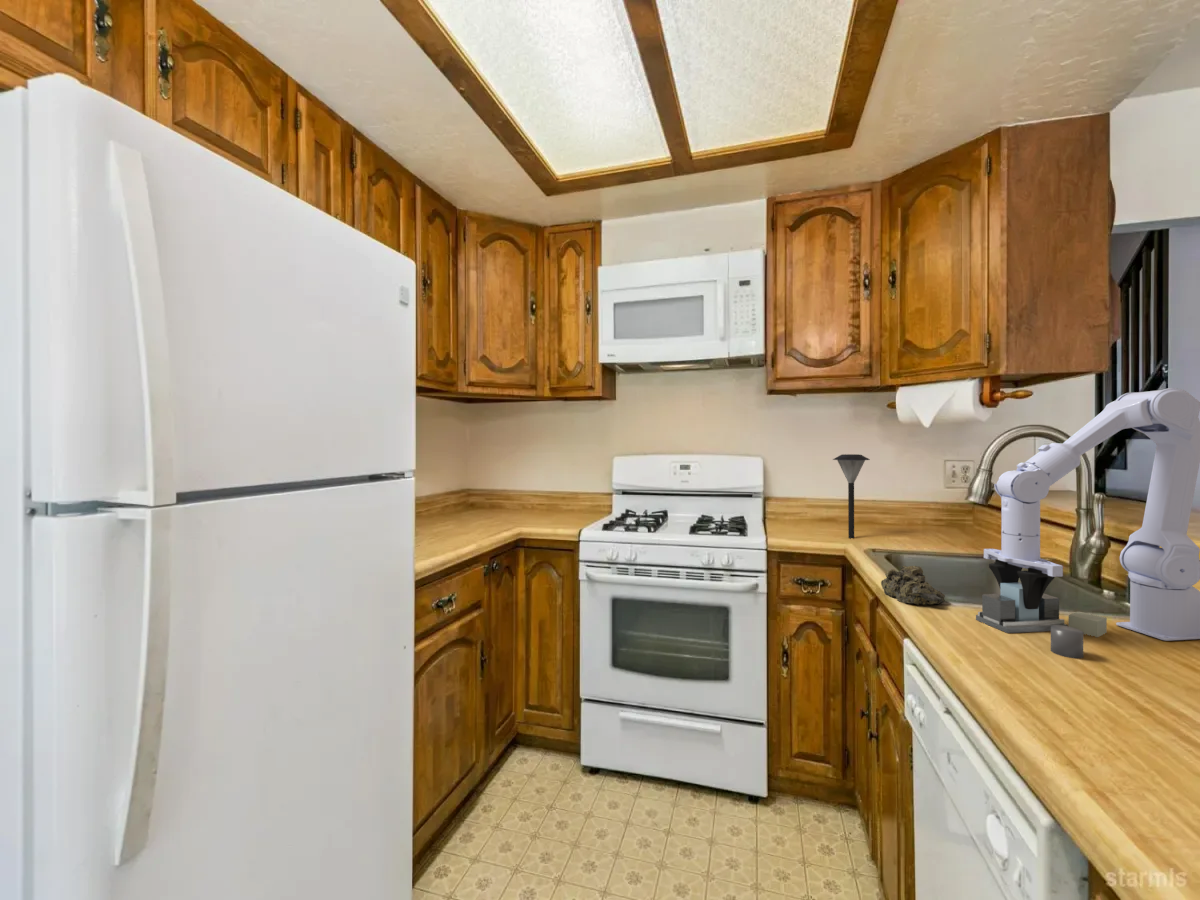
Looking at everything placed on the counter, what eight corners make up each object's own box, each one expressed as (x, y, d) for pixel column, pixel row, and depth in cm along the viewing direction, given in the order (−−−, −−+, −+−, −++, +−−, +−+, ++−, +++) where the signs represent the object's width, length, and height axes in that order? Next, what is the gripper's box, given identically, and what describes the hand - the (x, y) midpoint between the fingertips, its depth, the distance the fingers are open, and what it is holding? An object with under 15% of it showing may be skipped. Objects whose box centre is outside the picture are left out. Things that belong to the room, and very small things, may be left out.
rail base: (1031, 617, 102) (1031, 589, 102) (1067, 630, 95) (1067, 600, 95) (975, 619, 101) (975, 592, 100) (1007, 633, 94) (1007, 603, 93)
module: (1019, 612, 100) (1019, 582, 100) (1039, 619, 96) (1039, 588, 96) (1000, 613, 99) (1000, 583, 99) (1019, 621, 95) (1019, 589, 95)
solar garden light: (831, 534, 191) (831, 454, 191) (867, 535, 187) (867, 454, 186) (834, 540, 180) (833, 455, 179) (873, 542, 176) (872, 455, 175)
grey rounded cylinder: (1065, 647, 87) (1065, 624, 87) (1090, 657, 83) (1090, 633, 83) (1044, 649, 87) (1044, 625, 86) (1067, 659, 83) (1068, 634, 83)
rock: (901, 588, 124) (868, 571, 122) (935, 562, 118) (900, 545, 117) (923, 633, 113) (886, 615, 111) (960, 607, 107) (922, 589, 106)
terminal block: (1078, 627, 97) (1078, 611, 97) (1106, 634, 93) (1106, 617, 93) (1068, 630, 95) (1068, 614, 95) (1097, 638, 91) (1097, 621, 91)
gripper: (969, 527, 104) (969, 594, 104) (1037, 541, 90) (1036, 618, 90) (1001, 526, 105) (1001, 592, 105) (1073, 540, 90) (1073, 616, 91)
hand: (1020, 604), depth 98 cm, fingers closed on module, 4 cm apart
